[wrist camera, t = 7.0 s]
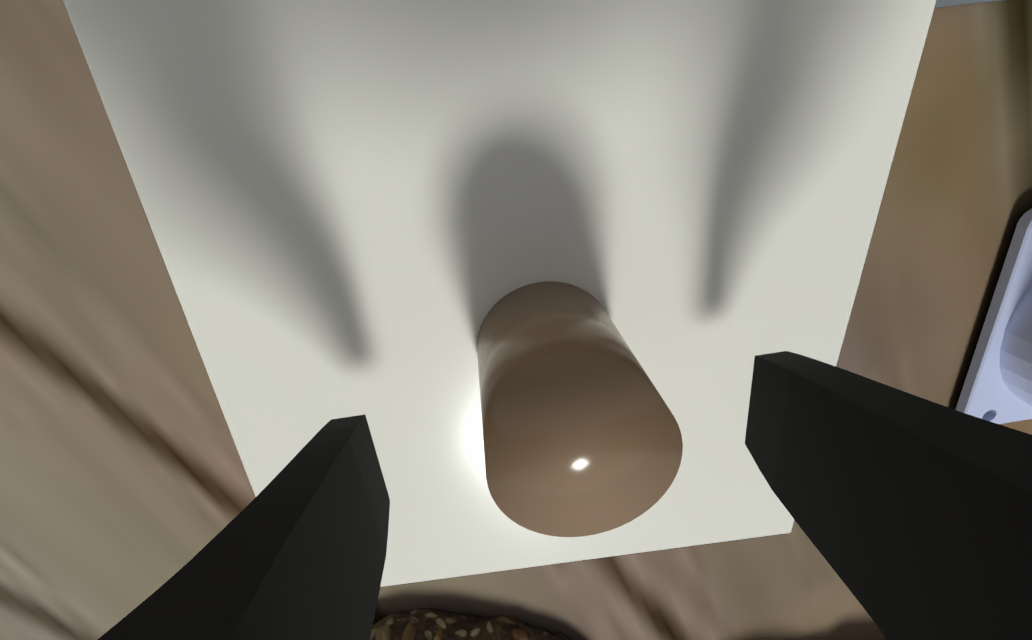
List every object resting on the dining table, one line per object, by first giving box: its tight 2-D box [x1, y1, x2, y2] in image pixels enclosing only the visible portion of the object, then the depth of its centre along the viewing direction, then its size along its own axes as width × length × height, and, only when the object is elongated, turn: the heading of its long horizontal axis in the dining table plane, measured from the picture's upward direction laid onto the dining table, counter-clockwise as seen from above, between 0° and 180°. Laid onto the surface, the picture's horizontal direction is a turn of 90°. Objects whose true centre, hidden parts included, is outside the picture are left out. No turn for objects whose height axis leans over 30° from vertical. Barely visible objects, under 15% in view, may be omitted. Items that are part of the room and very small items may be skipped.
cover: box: [63, 0, 936, 587], centre depth 11 cm, size 14×14×7 cm
